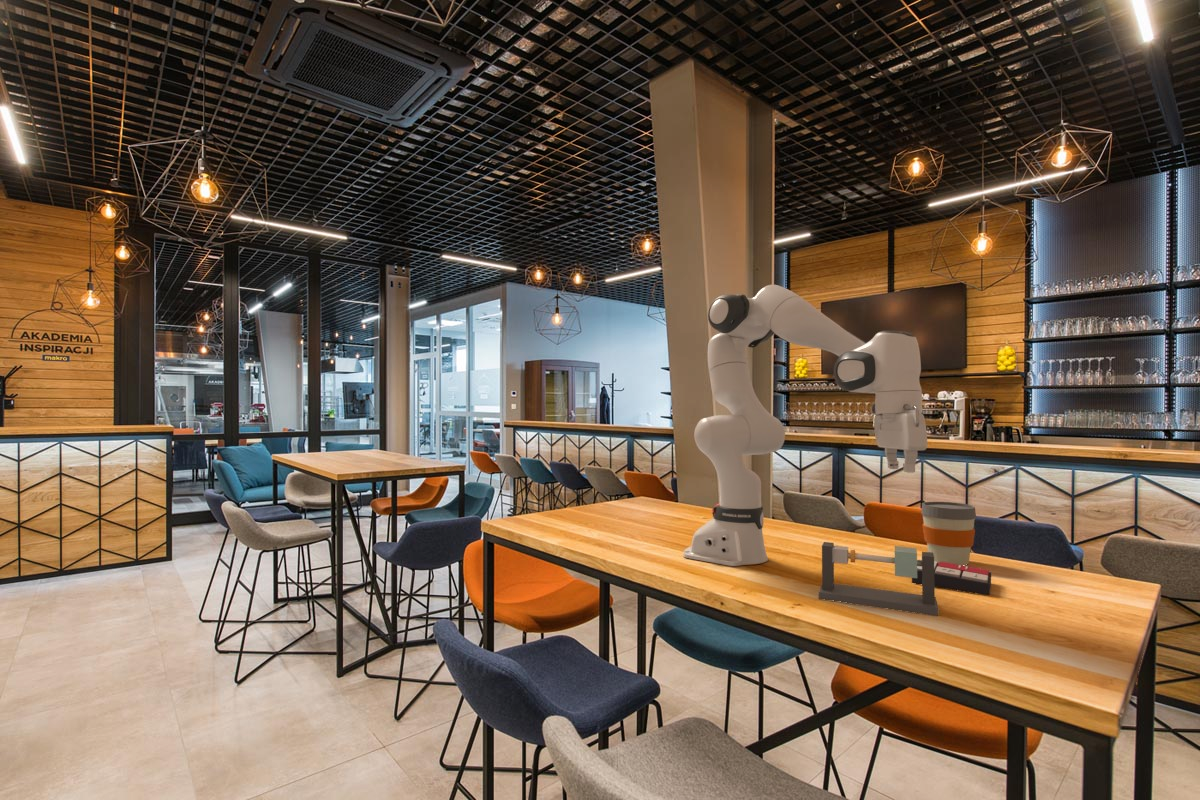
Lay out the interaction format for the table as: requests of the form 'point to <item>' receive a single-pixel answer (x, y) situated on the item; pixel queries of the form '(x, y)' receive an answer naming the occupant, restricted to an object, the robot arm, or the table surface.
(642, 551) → the table surface
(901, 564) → the sleeve
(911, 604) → the sliding block rail stand
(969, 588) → the calculator
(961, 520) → the reusable coffee cup
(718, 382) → the robot arm
